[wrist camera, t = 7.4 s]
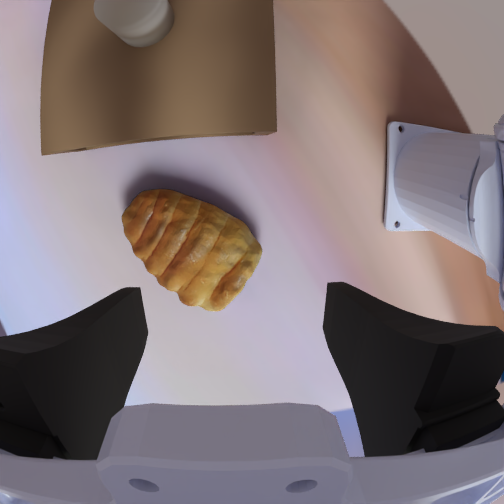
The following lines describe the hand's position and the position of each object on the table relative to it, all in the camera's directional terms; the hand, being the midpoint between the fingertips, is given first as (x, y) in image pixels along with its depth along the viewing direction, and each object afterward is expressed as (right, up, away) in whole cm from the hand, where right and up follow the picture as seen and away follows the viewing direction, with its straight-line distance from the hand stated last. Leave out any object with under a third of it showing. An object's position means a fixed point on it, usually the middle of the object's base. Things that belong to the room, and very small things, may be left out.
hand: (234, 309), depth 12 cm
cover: (-5, +16, +5) cm, 17 cm away
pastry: (-3, +3, +10) cm, 11 cm away
